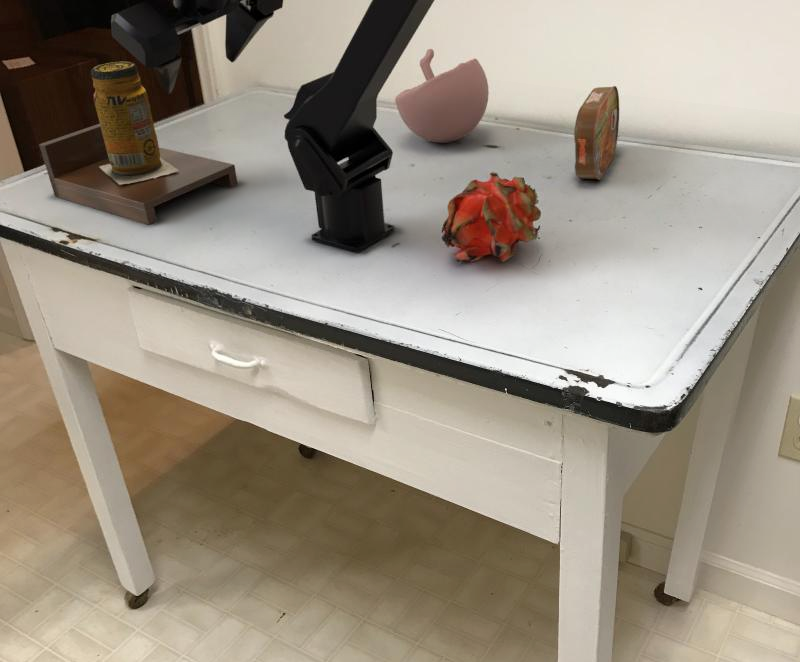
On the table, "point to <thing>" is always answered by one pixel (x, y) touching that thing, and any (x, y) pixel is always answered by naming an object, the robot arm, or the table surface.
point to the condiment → (127, 124)
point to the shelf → (89, 185)
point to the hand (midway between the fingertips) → (199, 75)
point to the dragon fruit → (491, 218)
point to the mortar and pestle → (445, 101)
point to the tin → (596, 132)
